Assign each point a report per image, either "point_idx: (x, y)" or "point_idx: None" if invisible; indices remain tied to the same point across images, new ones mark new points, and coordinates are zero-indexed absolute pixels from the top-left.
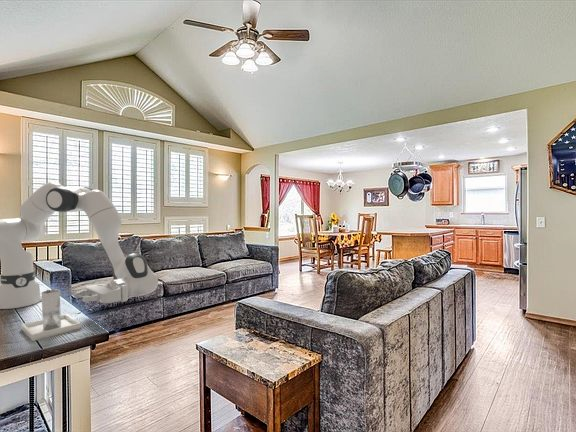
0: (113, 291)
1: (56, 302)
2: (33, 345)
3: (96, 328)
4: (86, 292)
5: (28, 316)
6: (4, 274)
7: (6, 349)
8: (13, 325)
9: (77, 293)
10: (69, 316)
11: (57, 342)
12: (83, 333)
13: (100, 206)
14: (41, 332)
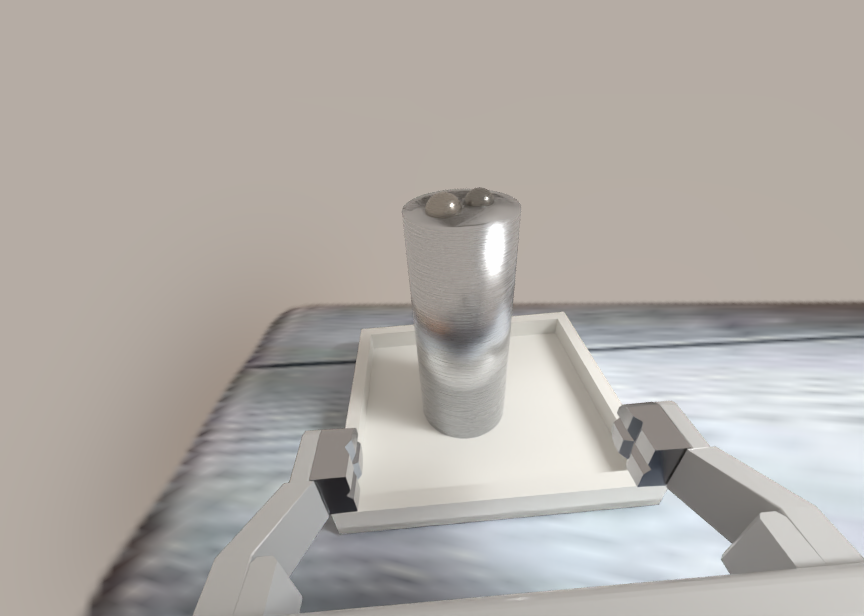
0: None
1: (413, 293)
2: (323, 350)
3: None
4: (758, 561)
5: (820, 359)
6: None
7: (367, 306)
8: (658, 319)
9: (633, 420)
10: (572, 483)
11: (260, 407)
12: (243, 526)
13: None
14: (364, 350)
